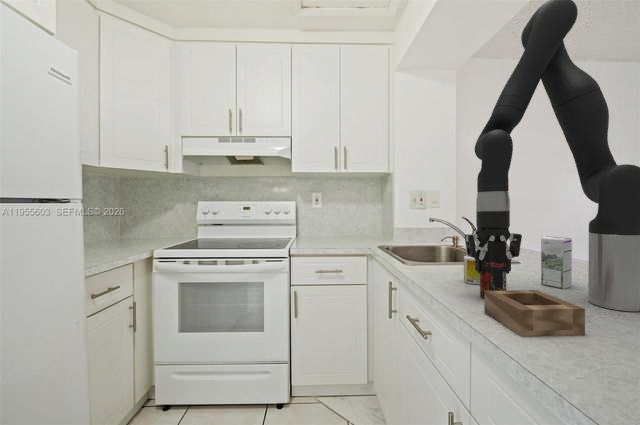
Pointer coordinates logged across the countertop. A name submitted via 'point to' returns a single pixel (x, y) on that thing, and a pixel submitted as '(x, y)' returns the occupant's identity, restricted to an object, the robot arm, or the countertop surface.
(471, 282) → the supplement bottle
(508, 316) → the socket block
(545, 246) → the syrup box
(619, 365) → the countertop surface
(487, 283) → the deodorant
